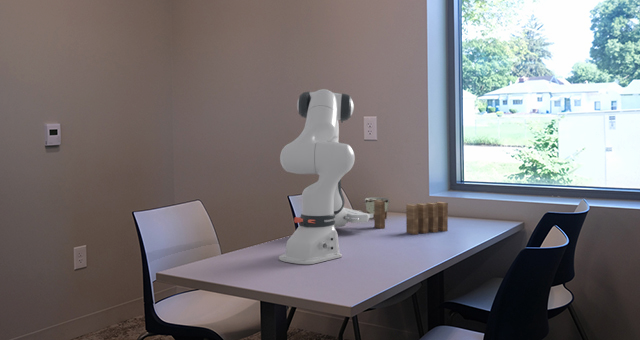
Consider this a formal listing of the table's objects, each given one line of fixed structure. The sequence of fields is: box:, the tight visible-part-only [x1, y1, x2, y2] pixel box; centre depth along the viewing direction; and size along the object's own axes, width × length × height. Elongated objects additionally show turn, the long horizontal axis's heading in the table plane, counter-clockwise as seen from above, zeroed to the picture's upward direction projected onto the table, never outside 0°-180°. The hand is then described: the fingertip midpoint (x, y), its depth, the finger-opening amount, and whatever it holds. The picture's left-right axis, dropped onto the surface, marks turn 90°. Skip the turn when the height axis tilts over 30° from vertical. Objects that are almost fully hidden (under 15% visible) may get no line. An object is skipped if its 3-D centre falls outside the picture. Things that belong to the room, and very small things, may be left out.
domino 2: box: [405, 203, 419, 236], centre depth 221 cm, size 2×5×12 cm, turn 24°
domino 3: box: [415, 202, 429, 234], centre depth 223 cm, size 2×5×12 cm, turn 24°
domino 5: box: [435, 201, 449, 232], centre depth 227 cm, size 2×5×12 cm, turn 24°
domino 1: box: [373, 200, 386, 230], centre depth 235 cm, size 2×5×12 cm, turn 24°
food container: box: [363, 197, 390, 220], centre depth 262 cm, size 12×6×10 cm, turn 84°
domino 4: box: [425, 202, 439, 233], centre depth 225 cm, size 2×5×12 cm, turn 24°
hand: (367, 214), depth 233 cm, fingers open, 8 cm apart
